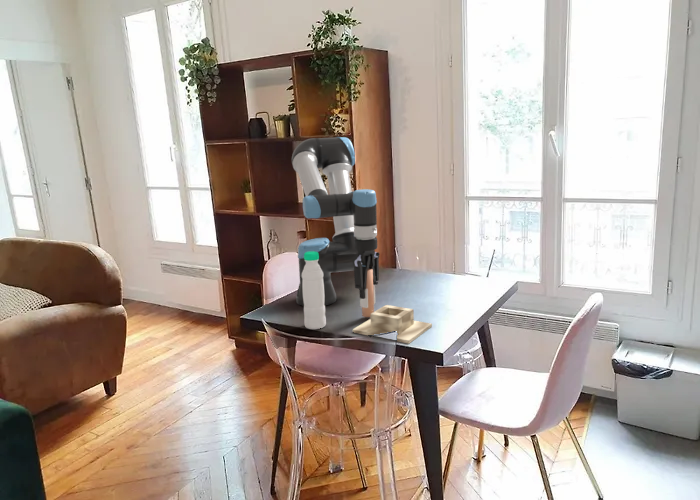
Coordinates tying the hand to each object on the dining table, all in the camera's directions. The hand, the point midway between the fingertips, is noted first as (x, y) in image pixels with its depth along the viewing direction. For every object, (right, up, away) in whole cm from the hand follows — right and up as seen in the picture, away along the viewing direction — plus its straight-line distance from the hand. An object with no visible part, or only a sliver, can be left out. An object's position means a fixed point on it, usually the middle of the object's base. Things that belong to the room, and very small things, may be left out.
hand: (367, 304), depth 184 cm
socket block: (+8, -7, -10) cm, 14 cm away
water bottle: (-17, -7, -4) cm, 19 cm away
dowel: (0, -4, +1) cm, 4 cm away
